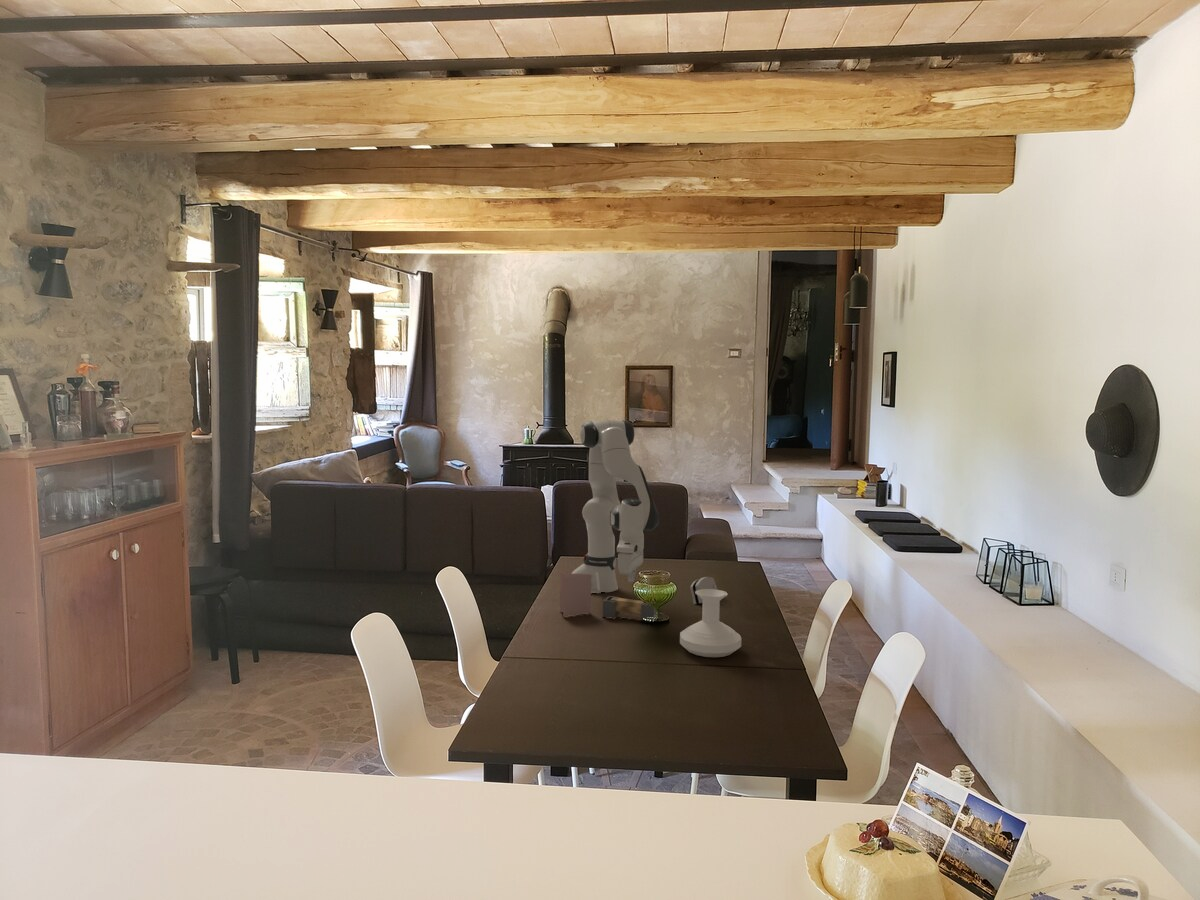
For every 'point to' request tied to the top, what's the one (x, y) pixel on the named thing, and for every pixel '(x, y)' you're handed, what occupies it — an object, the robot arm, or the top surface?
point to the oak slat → (628, 605)
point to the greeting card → (575, 593)
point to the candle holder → (710, 629)
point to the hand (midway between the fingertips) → (631, 581)
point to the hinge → (701, 587)
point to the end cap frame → (610, 611)
